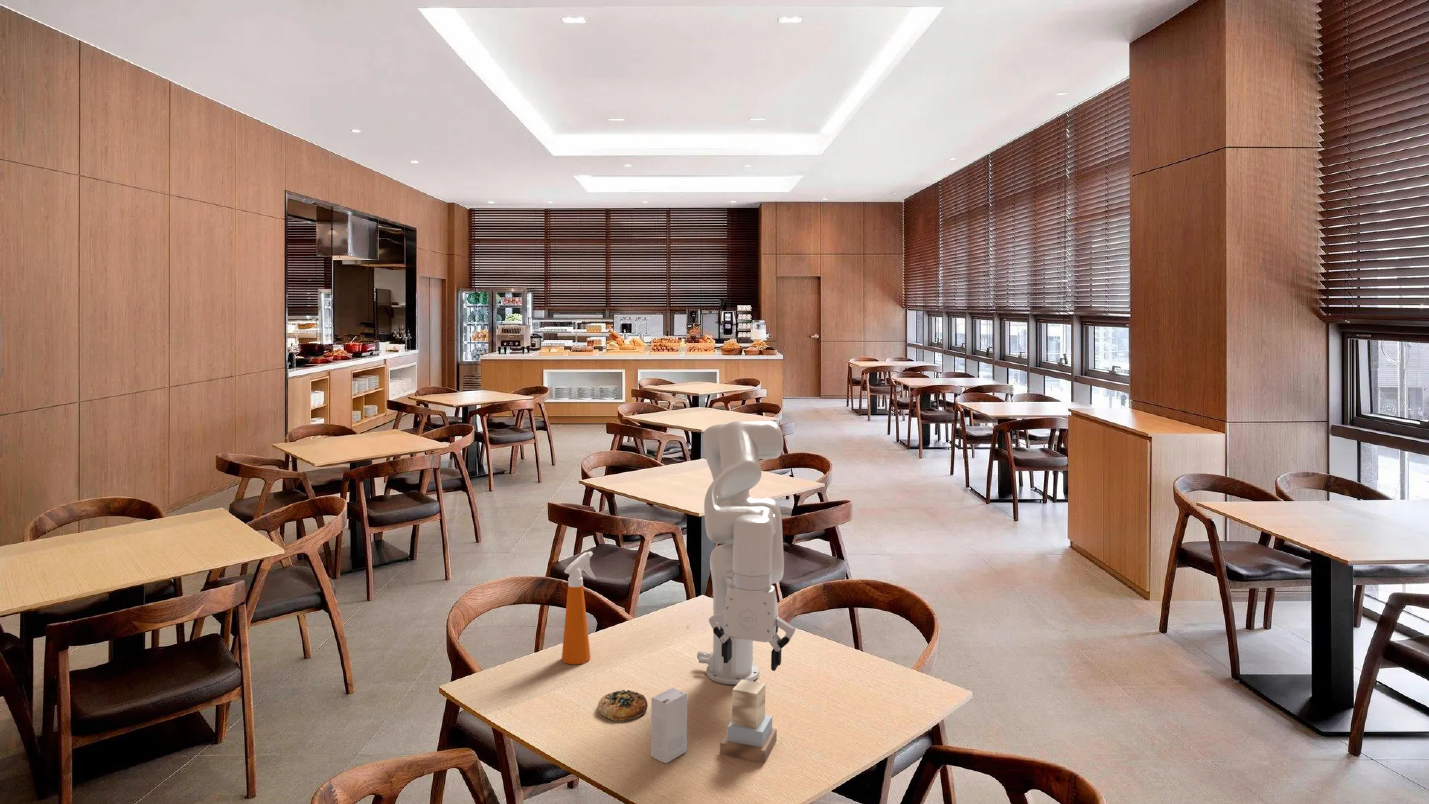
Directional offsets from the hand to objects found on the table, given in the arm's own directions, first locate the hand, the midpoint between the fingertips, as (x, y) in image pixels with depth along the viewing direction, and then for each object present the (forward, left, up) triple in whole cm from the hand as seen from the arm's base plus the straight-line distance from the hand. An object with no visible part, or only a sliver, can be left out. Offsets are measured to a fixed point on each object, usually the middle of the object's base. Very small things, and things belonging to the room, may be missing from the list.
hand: (751, 664), depth 160 cm
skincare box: (-14, -9, -17) cm, 23 cm away
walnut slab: (0, -1, -17) cm, 17 cm away
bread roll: (-31, +6, -17) cm, 36 cm away
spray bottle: (-53, +28, -17) cm, 62 cm away
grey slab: (0, 0, -14) cm, 14 cm away
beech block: (0, 0, -11) cm, 11 cm away
